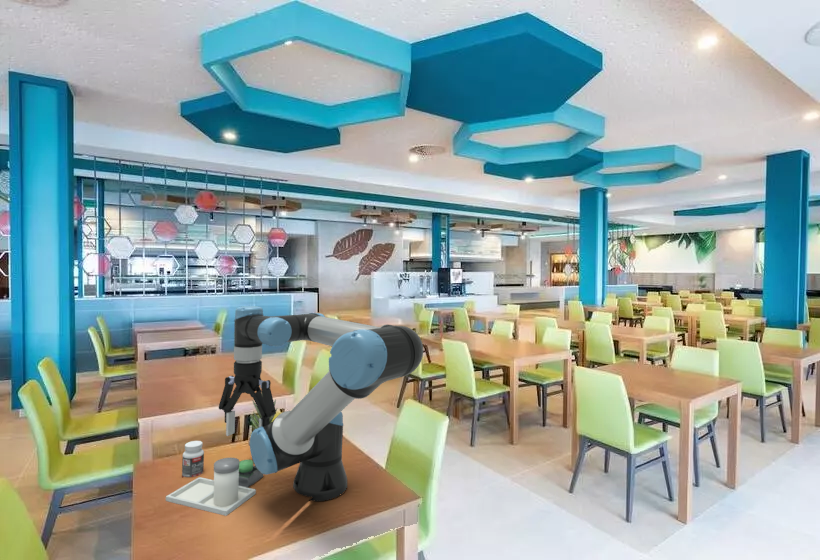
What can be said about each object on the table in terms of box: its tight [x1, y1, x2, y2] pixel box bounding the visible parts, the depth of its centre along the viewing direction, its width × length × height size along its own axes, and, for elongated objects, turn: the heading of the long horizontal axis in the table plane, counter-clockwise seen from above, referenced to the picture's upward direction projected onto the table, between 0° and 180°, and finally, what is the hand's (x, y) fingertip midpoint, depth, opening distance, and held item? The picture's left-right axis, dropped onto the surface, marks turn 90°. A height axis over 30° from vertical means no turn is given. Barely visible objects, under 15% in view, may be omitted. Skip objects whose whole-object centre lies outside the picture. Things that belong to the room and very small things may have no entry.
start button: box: [239, 459, 254, 473], centre depth 126 cm, size 4×4×2 cm
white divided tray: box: [165, 476, 257, 517], centre depth 116 cm, size 20×13×2 cm, turn 72°
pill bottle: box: [181, 440, 205, 478], centre depth 129 cm, size 6×6×10 cm
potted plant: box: [247, 395, 278, 447], centre depth 142 cm, size 10×10×25 cm
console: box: [239, 464, 264, 488], centre depth 126 cm, size 7×7×4 cm
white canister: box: [213, 457, 240, 507], centre depth 115 cm, size 6×6×10 cm
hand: (246, 436), depth 126 cm, fingers open, 10 cm apart
